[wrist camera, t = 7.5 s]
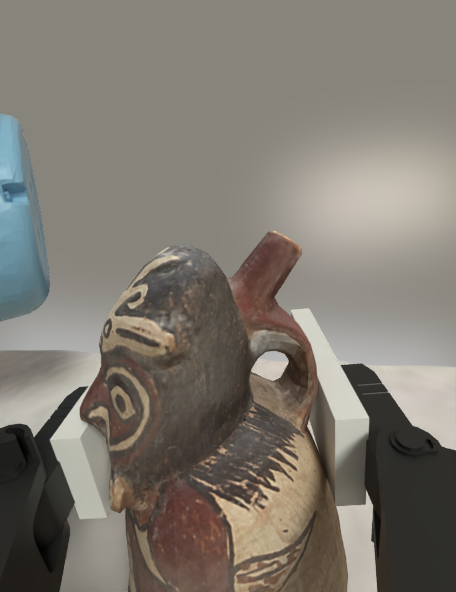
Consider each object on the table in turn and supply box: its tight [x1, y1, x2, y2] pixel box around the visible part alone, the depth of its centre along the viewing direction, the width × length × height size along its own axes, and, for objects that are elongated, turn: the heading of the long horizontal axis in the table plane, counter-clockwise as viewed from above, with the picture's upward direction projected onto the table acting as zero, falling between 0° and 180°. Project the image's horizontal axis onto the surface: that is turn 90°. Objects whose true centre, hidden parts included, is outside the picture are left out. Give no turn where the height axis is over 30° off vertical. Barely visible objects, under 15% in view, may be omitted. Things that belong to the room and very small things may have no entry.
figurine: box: [80, 231, 348, 592], centre depth 9 cm, size 7×7×12 cm
